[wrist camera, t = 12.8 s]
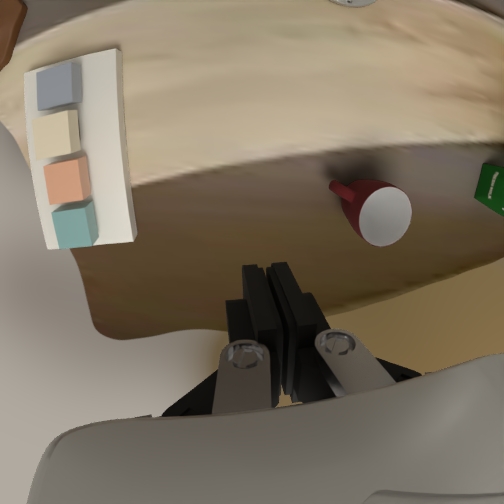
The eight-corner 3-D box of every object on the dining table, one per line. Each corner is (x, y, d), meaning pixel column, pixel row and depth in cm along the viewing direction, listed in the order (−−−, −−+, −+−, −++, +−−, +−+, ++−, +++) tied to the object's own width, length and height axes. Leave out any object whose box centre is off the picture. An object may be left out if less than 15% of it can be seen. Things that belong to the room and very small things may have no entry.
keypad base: (33, 74, 32) (24, 73, 30) (121, 52, 34) (116, 48, 31) (55, 241, 43) (47, 249, 40) (137, 233, 45) (133, 241, 42)
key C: (62, 158, 37) (43, 166, 32) (93, 152, 38) (77, 159, 33) (67, 192, 40) (49, 205, 34) (98, 188, 40) (83, 200, 35)
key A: (56, 75, 32) (36, 72, 27) (88, 67, 33) (71, 62, 28) (57, 109, 35) (37, 111, 29) (89, 102, 35) (72, 101, 30)
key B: (53, 117, 33) (31, 119, 28) (85, 109, 34) (67, 110, 29) (56, 153, 36) (36, 160, 30) (89, 146, 36) (71, 153, 31)
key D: (68, 199, 40) (51, 212, 34) (99, 195, 40) (84, 208, 35) (75, 232, 42) (59, 249, 37) (105, 229, 43) (92, 245, 37)
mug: (306, 207, 46) (330, 232, 37) (326, 156, 44) (356, 168, 34) (365, 227, 49) (396, 253, 40) (384, 180, 46) (421, 198, 37)
